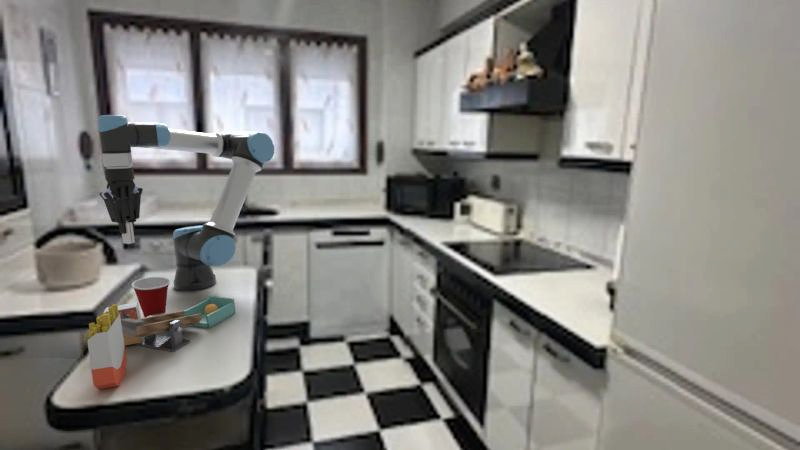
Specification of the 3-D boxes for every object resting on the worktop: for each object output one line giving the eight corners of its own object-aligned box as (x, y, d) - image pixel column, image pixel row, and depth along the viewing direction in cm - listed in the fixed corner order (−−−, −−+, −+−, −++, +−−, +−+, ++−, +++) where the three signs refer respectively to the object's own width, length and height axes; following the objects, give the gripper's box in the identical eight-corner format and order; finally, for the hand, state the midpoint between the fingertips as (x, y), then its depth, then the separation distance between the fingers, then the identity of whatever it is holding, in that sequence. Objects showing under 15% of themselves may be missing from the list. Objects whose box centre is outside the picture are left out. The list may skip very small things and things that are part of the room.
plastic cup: (157, 324, 135) (153, 288, 132) (128, 322, 137) (122, 285, 135) (181, 311, 145) (177, 276, 143) (153, 308, 147) (149, 275, 145)
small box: (109, 349, 119) (101, 313, 117) (112, 342, 124) (105, 307, 122) (143, 342, 122) (136, 306, 120) (144, 335, 127) (138, 300, 125)
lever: (163, 317, 135) (164, 304, 136) (201, 323, 131) (202, 310, 131) (94, 331, 115) (95, 316, 115) (136, 338, 110) (138, 323, 110)
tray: (210, 309, 146) (209, 295, 145) (235, 313, 143) (234, 298, 142) (182, 324, 135) (181, 308, 134) (209, 328, 132) (207, 312, 131)
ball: (205, 318, 140) (212, 309, 143) (215, 319, 139) (222, 310, 142) (200, 309, 138) (207, 300, 141) (210, 311, 137) (217, 302, 140)
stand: (154, 335, 127) (151, 312, 126) (190, 342, 123) (187, 318, 122) (136, 345, 122) (133, 321, 120) (173, 351, 118) (170, 327, 116)
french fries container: (93, 396, 98) (81, 321, 94) (107, 372, 108) (96, 303, 104) (116, 392, 99) (105, 318, 96) (128, 368, 109) (118, 301, 106)
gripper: (129, 165, 140) (138, 237, 145) (88, 168, 127) (99, 247, 132) (147, 166, 137) (156, 238, 142) (107, 169, 125) (118, 248, 130)
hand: (129, 242), depth 137 cm, fingers closed
